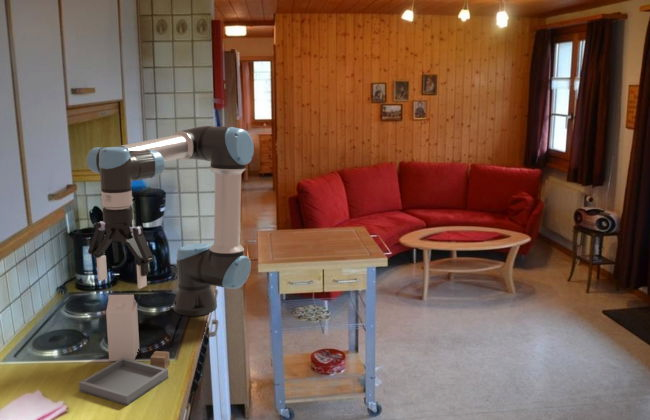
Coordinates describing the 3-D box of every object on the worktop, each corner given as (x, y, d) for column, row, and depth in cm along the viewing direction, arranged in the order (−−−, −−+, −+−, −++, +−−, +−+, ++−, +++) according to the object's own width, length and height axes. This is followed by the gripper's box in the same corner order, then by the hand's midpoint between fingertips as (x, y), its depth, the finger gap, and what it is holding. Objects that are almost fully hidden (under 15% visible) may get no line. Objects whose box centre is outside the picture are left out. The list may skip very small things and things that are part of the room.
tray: (123, 365, 173) (122, 357, 172) (168, 377, 166) (168, 369, 166) (79, 391, 158) (78, 382, 158) (127, 405, 152) (126, 396, 151)
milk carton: (115, 350, 182) (111, 290, 178) (139, 350, 182) (136, 290, 178) (109, 361, 175) (105, 299, 171) (134, 361, 176) (130, 299, 171)
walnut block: (156, 363, 174) (155, 351, 173) (169, 364, 174) (169, 351, 173) (151, 370, 170) (150, 357, 170) (164, 371, 170) (164, 358, 169)
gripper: (70, 204, 161) (76, 280, 165) (146, 214, 151) (150, 294, 156) (91, 199, 167) (96, 272, 172) (165, 208, 158) (168, 285, 162)
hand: (122, 283), depth 164 cm, fingers open, 13 cm apart
